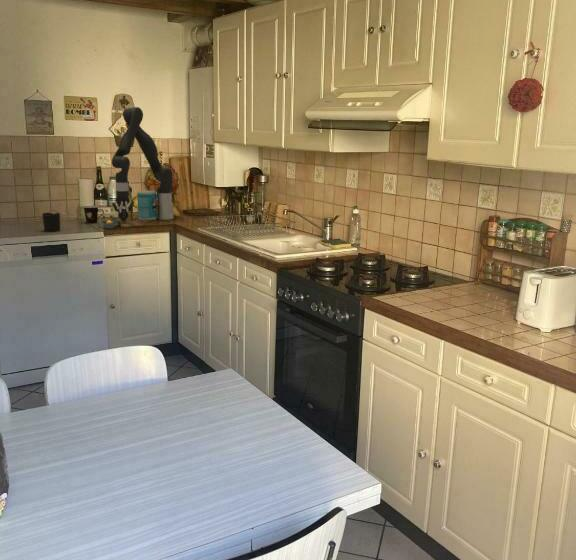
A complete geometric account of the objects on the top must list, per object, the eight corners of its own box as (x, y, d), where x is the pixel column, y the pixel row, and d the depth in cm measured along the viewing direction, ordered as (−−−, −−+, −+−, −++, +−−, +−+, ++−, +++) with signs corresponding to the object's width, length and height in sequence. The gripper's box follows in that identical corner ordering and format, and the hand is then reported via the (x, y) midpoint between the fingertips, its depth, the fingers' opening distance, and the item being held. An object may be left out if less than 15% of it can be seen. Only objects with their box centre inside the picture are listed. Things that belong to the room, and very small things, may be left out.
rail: (138, 223, 390) (138, 220, 389) (143, 225, 384) (143, 222, 383) (116, 225, 382) (116, 222, 382) (121, 226, 376) (121, 224, 375)
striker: (126, 224, 385) (126, 207, 382) (130, 225, 380) (129, 209, 377) (112, 225, 379) (111, 208, 377) (116, 226, 375) (115, 210, 372)
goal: (108, 225, 380) (108, 220, 379) (114, 227, 372) (114, 222, 371) (97, 226, 376) (97, 221, 376) (103, 228, 368) (103, 223, 368)
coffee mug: (81, 223, 388) (80, 207, 385) (91, 221, 395) (90, 205, 392) (95, 224, 382) (94, 208, 380) (105, 222, 390) (104, 206, 387)
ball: (110, 218, 377) (104, 221, 375) (112, 219, 373) (106, 222, 372) (112, 224, 378) (106, 227, 377) (114, 225, 375) (109, 228, 373)
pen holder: (55, 228, 367) (54, 211, 364) (64, 230, 361) (62, 213, 359) (40, 230, 360) (39, 213, 357) (49, 232, 354) (47, 215, 352)
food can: (136, 218, 409) (135, 190, 405) (154, 217, 414) (153, 190, 410) (140, 221, 399) (139, 192, 394) (159, 219, 404) (158, 192, 400)
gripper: (131, 188, 382) (132, 216, 386) (108, 189, 374) (110, 218, 378) (135, 189, 376) (136, 218, 380) (113, 191, 368) (114, 220, 373)
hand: (123, 218), depth 379 cm, fingers closed on striker, 3 cm apart
